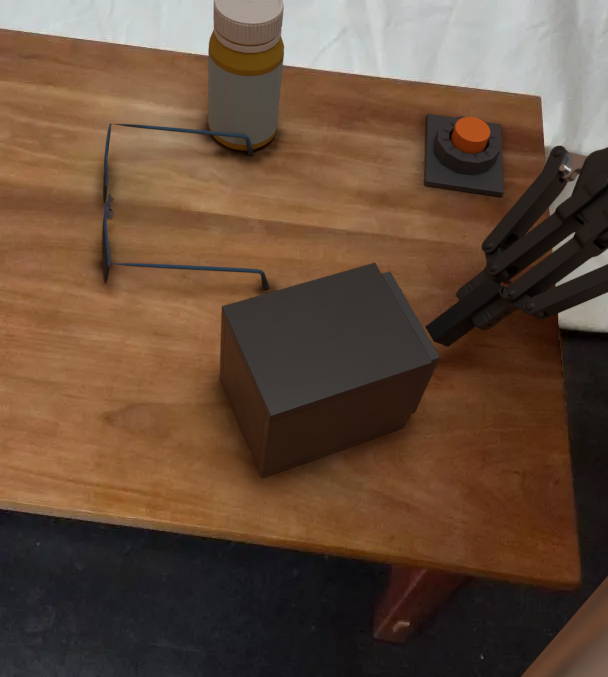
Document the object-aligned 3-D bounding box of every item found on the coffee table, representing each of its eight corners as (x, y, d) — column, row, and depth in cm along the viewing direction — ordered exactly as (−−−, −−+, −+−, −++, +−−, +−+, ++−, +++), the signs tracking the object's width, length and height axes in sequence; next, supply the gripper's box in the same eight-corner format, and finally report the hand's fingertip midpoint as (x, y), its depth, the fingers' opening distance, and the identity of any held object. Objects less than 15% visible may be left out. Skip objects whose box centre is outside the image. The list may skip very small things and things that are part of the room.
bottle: (260, 162, 83) (270, 36, 70) (197, 140, 83) (195, 11, 71) (286, 119, 86) (300, -8, 74) (225, 98, 87) (228, -32, 75)
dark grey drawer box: (354, 336, 72) (375, 261, 64) (403, 428, 68) (433, 362, 59) (219, 378, 69) (221, 305, 60) (261, 478, 64) (270, 416, 55)
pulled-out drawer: (383, 328, 72) (403, 266, 65) (427, 408, 68) (454, 352, 61) (248, 370, 68) (253, 310, 61) (286, 457, 65) (297, 404, 57)
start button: (485, 156, 83) (490, 144, 82) (450, 151, 83) (455, 138, 82) (485, 132, 85) (490, 119, 84) (451, 127, 85) (455, 114, 84)
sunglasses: (103, 154, 81) (105, 115, 77) (250, 166, 85) (259, 130, 81) (100, 297, 72) (102, 261, 68) (265, 303, 76) (276, 270, 72)
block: (502, 197, 83) (509, 180, 81) (424, 185, 83) (429, 168, 81) (499, 129, 89) (506, 111, 87) (426, 118, 89) (431, 99, 87)
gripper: (762, 225, 58) (494, 408, 68) (653, 104, 65) (421, 286, 74) (746, 191, 52) (455, 397, 62) (628, 61, 59) (379, 265, 68)
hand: (436, 336), depth 68 cm, fingers closed
